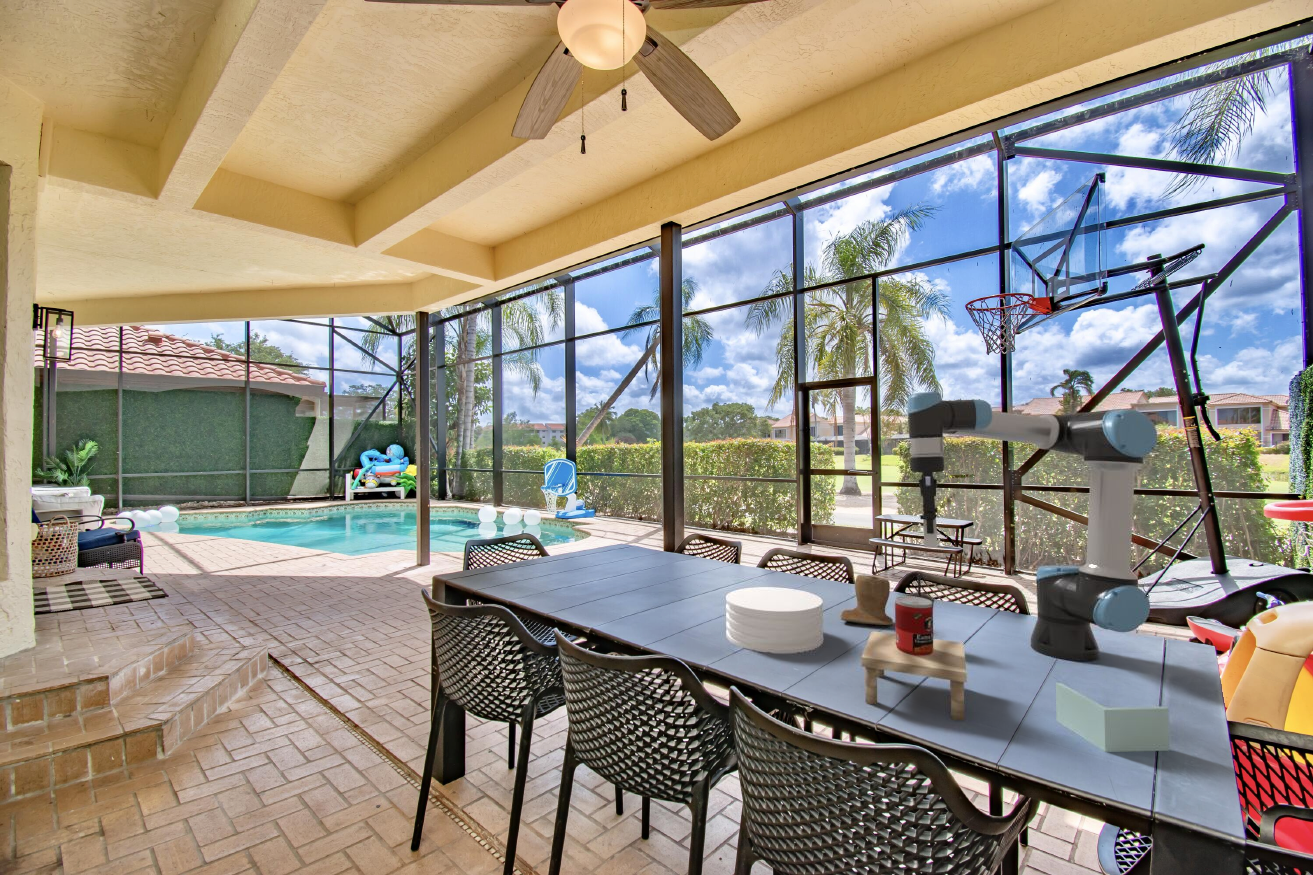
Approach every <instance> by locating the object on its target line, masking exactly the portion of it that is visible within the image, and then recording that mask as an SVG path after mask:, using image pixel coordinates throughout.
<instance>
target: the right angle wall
mask: <svg viewBox="0 0 1313 875" xmlns="http://www.w3.org/2000/svg"><path fill="white" fill-rule="evenodd" d="M1055 703H1056V704H1055V710H1056V711H1055V712H1056V718H1055V719H1056V722H1058V723H1059V724H1061V725H1063V726H1065V728H1067V729H1069V730H1070V731H1072V732H1074V734H1077V735H1078V736H1080V737H1081V738H1083V739H1085V740H1086V741H1087V742H1089V743H1091V744H1092V745H1093V746H1096V747H1097V748H1098V749H1100V750H1102V751H1103V752H1105V753H1110V752H1111V753H1114V752H1117V753H1120V752H1121V753H1123V752H1124V753H1126V752H1157V751H1158V752H1161V751H1166V752H1167V751H1170V748H1171V747H1170V717H1169V716H1170V714H1169V712H1170V711H1169V708H1168V707H1166V706H1127V707H1126V706H1124V707H1123V706H1121V707H1120V706H1118V707H1117V706H1116V707H1106V706H1104V705H1102V704H1100V703H1098V702H1097V701H1095V700H1092V699H1091V698H1090V697H1088V696H1086V695H1084V694H1083V693H1080V692H1078V691H1077V690H1074V689H1072V688H1070V687H1069V686H1067V685H1065V684H1064V683H1062V682H1056V683H1055Z"/></svg>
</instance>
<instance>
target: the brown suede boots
mask: <svg viewBox="0 0 1313 875" xmlns="http://www.w3.org/2000/svg"><path fill="white" fill-rule="evenodd" d="M854 581H855V582H854V590H855V591H854V592H855V597H856V607H855V608H853V609H844V610H843V611H842V612H841V614H840V620H841V621H844V622H847V623H848V622H849V623H857V624H862V625H876V626H890V625H892V624H893V623H894V621H893V619H892V617H890V616H888V615H887V613H886V607H887V604H888V601H889V598H890V592H891V591H890V589H891V585H890V581H889V579H887V578H885V577H880V576H875V575H874V576H873V575H867V574H866V575H865V574H858V575H856V578H855V580H854Z"/></svg>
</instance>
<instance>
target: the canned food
mask: <svg viewBox="0 0 1313 875" xmlns="http://www.w3.org/2000/svg"><path fill="white" fill-rule="evenodd" d="M894 620H895V621H894V626H895V629H894V630H895V633H894V634H895V635H896V646H897V648H898V649H899V650H900V651H902V652H905V653H908V654H912V655H929V654H931V653H932V652H933V639H934V603H933V604H932V601H930V600H928V599H925V598H920V597H914V596H905V595H900V596H897V597H895V600H894Z"/></svg>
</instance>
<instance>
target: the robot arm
mask: <svg viewBox="0 0 1313 875" xmlns="http://www.w3.org/2000/svg"><path fill="white" fill-rule="evenodd" d="M906 413H907V418H908V419H907V421H908V438H909V442H907V443H906V446H907V447H909V454H910V456H911V457H910V458H909V467H910V468H909V469H910V471H911V472H913V473H922V474H921V479H920V478H918V486H919V487H918V488H919V490H920V496H921V497H922V504H923V505H922V508H923V509H922V514H921V515H919V516H920V517H919V518H920V520H923V523H922V524H923V544H924V548H936V549H937V548H938V535H937V534H938V533H937V532H938V529H937V513H938V508H937V507H936V500H935V499H936V498H935V497H937V487H938V480H937V479H936V478H934V474H933V473H940V472H944V471H945V458H944V456H942V455H943V454H944V453H945V449H944V447H945V446H944V437H943V434H946V435H955V436H964V437H971V438H980V439H990V440H997V441H1003V442H1004V441H1005V442H1006V441H1007V442H1012V443H1014V442H1015V443H1021V444H1029V445H1030V444H1031V445H1035V447H1037V448H1038V449H1041V450H1048V451H1054V452H1059V453H1065V454H1070V455H1074V456H1076V455H1077V456H1081V457H1083V464H1084V465H1086V466H1087V467H1088V468H1089V469H1090V476H1089V477H1090V478H1089V480H1090V481H1089V499H1088V500H1089V501H1088V519H1087V539H1086V541H1087V542H1086V543H1087V545H1086V558H1085V560H1086V562H1085V564H1084V565H1081V566H1080V565H1058V564H1057V565H1056V564H1055V565H1054V564H1053V565H1051V564H1050V565H1041V566H1038V568H1037V570H1036V578H1035V581H1036V583H1035V584H1036V603H1037V604H1036V605H1037V606H1036V607H1037V608H1036V609H1037V611H1036V612H1037V620H1036V622H1035V626H1034V628H1033V631H1032V634H1031V636H1030V647H1031V649H1033V650H1034V651H1036V652H1038V653H1041V654H1043V655H1045V656H1050V657H1054V658H1058V659H1064V660H1071V661H1081V662H1083V661H1084V662H1085V661H1086V662H1087V661H1095V660H1098V659H1099V658H1100V648H1099V645H1098V643H1097V640H1096V638H1095V634H1094V632H1093V630H1092V627H1091V624H1092V625H1095V626H1097V627H1099V628H1101V629H1103V630H1109V631H1113V632H1116V633H1129V632H1130V633H1131V632H1132V631H1135V630H1137V629H1139V627H1140V626H1142V625H1144V623H1145V622H1146V621H1147V619H1148V617H1149V614H1150V611H1151V610H1150V609H1151V602H1150V599H1149V597H1148V596H1147V594H1146V592H1144V591H1143V590H1142V589H1141V587H1140V588H1139V587H1138V586H1139V585H1138V584H1139V577H1138V576H1137V575H1136V574H1135V573H1134V572H1133V571H1132V569H1131V562H1132V561H1131V560H1132V559H1131V557H1132V540H1133V539H1132V534H1133V532H1132V531H1133V515H1134V514H1133V513H1134V492H1135V491H1134V490H1135V489H1134V488H1135V472H1137V470H1139V469H1140V468H1141V467H1143V466H1144V457H1145V456H1148V455H1149V454H1151V453H1152V452H1153V450H1154V449H1155V448H1156V446H1157V443H1158V431H1157V429H1156V426H1155V424H1154V422H1153V421H1152V420H1151V419H1150V418H1148V416H1147V415H1146V414H1144V413H1143V412H1141V411H1138V410H1135V409H1128V408H1127V409H1124V408H1123V409H1121V408H1119V409H1114V408H1113V409H1107V410H1099V411H1089V412H1088V411H1087V412H1078V413H1070V414H1069V413H1068V414H1051V413H1050V414H1049V413H1048V414H1047V413H1044V414H1042V415H1040V416H1034V415H1028V414H1027V415H1026V414H1017V413H1009V412H1004V411H1003V412H1002V411H996V410H995V411H994V410H993V408H992V406H991V405H990V404H989V402H987V401H986V400H984V399H974V398H972V399H958V400H957V399H956V400H943V399H942V395H941V393H940V392H938V391H926V392H915V393H911V394H910V395H909V396H908V398H907V410H906Z"/></svg>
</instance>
